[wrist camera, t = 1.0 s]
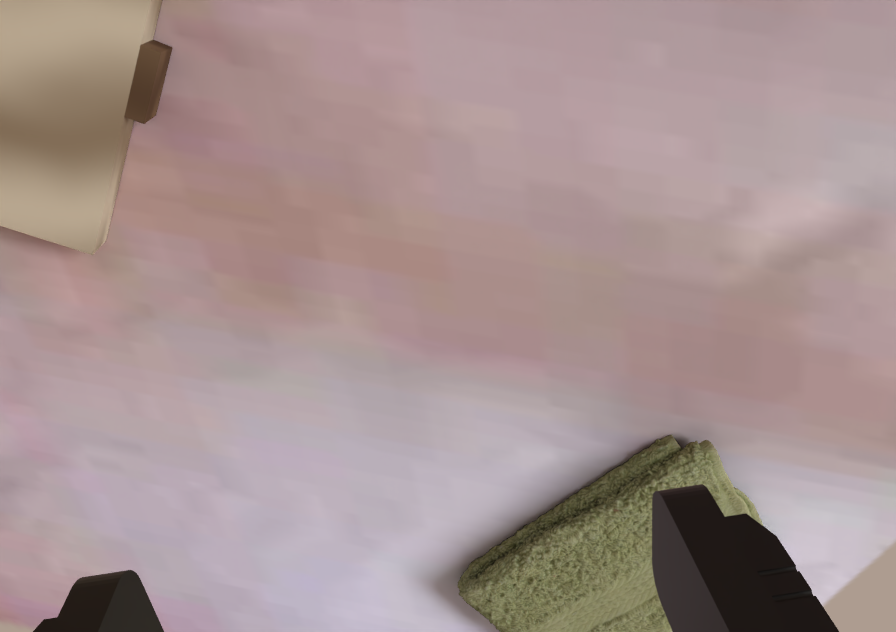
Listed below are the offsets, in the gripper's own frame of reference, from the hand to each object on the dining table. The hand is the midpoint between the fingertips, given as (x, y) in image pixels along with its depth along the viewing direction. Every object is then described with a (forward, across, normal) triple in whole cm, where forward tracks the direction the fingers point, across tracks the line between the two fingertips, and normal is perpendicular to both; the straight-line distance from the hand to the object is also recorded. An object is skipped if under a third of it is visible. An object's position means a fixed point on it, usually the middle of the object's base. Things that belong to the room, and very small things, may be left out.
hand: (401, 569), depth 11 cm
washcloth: (+25, -10, +27) cm, 39 cm away
